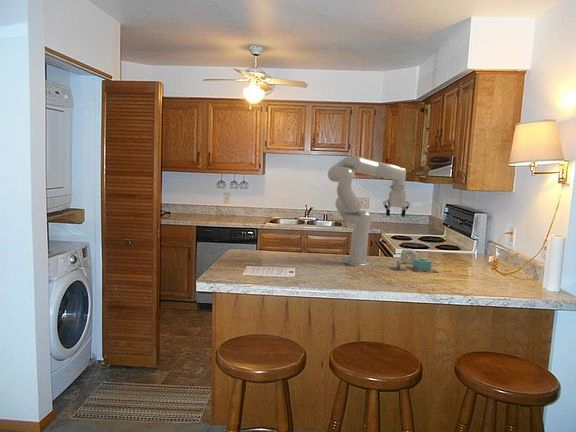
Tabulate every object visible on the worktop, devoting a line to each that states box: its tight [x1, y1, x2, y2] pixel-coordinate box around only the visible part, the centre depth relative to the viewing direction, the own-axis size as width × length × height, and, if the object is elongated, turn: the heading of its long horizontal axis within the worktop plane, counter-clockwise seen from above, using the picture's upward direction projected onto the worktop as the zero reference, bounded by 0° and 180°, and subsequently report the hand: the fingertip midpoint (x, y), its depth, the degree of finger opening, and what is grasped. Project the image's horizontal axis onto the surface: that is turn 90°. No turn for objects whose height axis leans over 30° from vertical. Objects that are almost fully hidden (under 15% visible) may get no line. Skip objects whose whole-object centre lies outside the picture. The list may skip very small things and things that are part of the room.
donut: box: [400, 248, 419, 266], centre depth 263 cm, size 10×4×10 cm, turn 89°
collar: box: [412, 258, 432, 271], centre depth 247 cm, size 7×7×5 cm
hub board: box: [405, 258, 439, 274], centre depth 247 cm, size 14×12×7 cm
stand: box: [388, 259, 408, 272], centre depth 244 cm, size 10×10×6 cm
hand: (395, 216), depth 266 cm, fingers open, 9 cm apart
